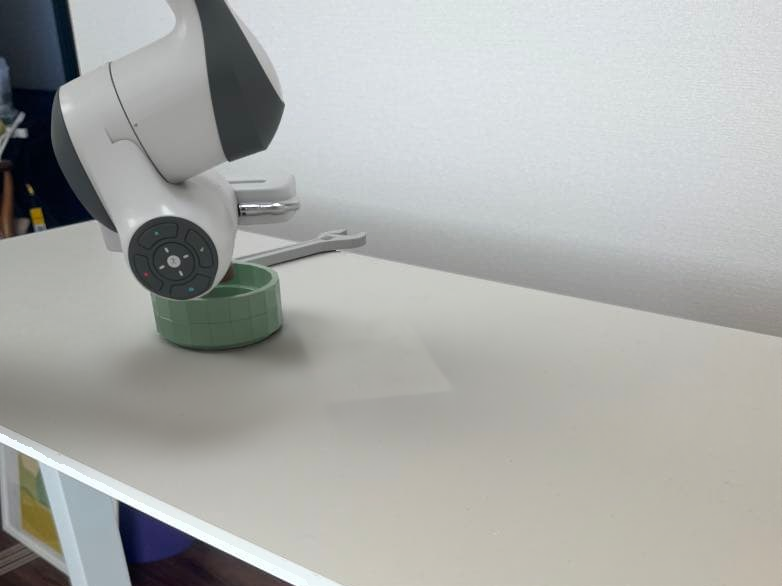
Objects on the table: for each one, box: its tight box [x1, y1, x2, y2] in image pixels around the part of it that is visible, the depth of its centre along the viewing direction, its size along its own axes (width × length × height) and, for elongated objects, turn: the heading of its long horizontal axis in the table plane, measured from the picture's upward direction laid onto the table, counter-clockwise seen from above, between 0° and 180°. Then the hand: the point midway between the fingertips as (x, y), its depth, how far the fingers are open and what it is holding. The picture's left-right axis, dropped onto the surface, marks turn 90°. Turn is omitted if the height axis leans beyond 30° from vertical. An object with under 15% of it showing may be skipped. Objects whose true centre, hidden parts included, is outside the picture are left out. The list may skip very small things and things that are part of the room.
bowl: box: [149, 261, 284, 351], centre depth 96 cm, size 15×15×6 cm
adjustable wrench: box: [231, 228, 367, 267], centre depth 122 cm, size 25×6×2 cm, turn 127°
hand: (202, 183), depth 89 cm, fingers closed
